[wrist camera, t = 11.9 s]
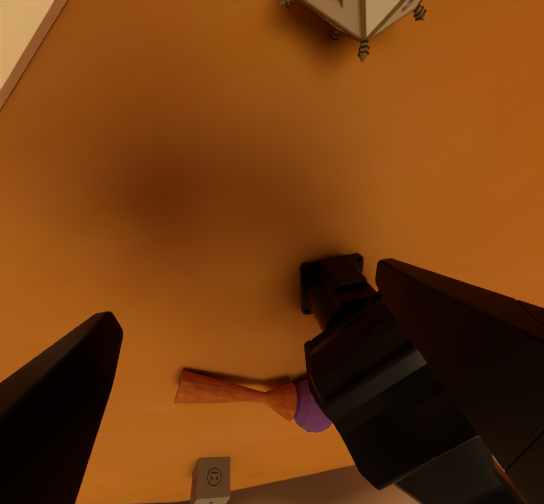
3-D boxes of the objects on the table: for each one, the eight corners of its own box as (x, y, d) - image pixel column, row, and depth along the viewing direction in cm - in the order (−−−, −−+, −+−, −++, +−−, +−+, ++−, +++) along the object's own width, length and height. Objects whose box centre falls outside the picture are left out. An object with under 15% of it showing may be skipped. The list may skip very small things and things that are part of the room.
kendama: (179, 387, 24) (352, 409, 29) (189, 346, 30) (332, 371, 34) (166, 432, 25) (332, 446, 30) (178, 385, 31) (316, 403, 36)
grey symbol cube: (192, 472, 41) (188, 513, 37) (199, 457, 39) (196, 499, 35) (221, 470, 42) (221, 510, 38) (229, 456, 40) (230, 496, 36)
